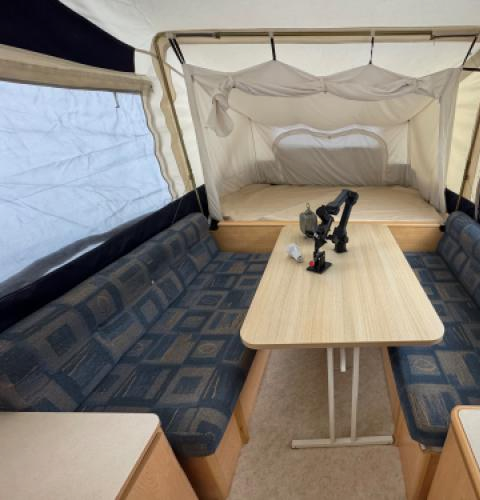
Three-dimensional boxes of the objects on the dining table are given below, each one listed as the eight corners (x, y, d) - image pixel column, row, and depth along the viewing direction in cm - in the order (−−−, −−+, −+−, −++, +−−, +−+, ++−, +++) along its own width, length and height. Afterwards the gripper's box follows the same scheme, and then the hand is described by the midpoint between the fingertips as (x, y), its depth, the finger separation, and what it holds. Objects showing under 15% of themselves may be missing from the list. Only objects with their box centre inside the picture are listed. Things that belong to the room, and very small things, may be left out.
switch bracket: (320, 274, 141) (320, 257, 137) (306, 269, 145) (306, 253, 141) (331, 264, 150) (331, 249, 146) (318, 261, 154) (318, 245, 150)
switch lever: (313, 268, 138) (312, 264, 136) (308, 266, 140) (307, 262, 138) (323, 255, 145) (322, 251, 143) (318, 254, 147) (317, 250, 145)
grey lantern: (318, 240, 182) (317, 205, 171) (305, 242, 179) (303, 206, 168) (311, 233, 194) (310, 199, 183) (299, 234, 191) (298, 200, 180)
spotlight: (298, 251, 163) (296, 240, 158) (307, 261, 156) (305, 250, 151) (286, 256, 160) (284, 245, 155) (295, 266, 153) (293, 256, 147)
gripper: (305, 215, 141) (293, 241, 137) (335, 220, 133) (324, 248, 128) (313, 224, 150) (303, 249, 146) (342, 230, 142) (332, 257, 138)
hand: (315, 251), depth 140 cm, fingers closed
